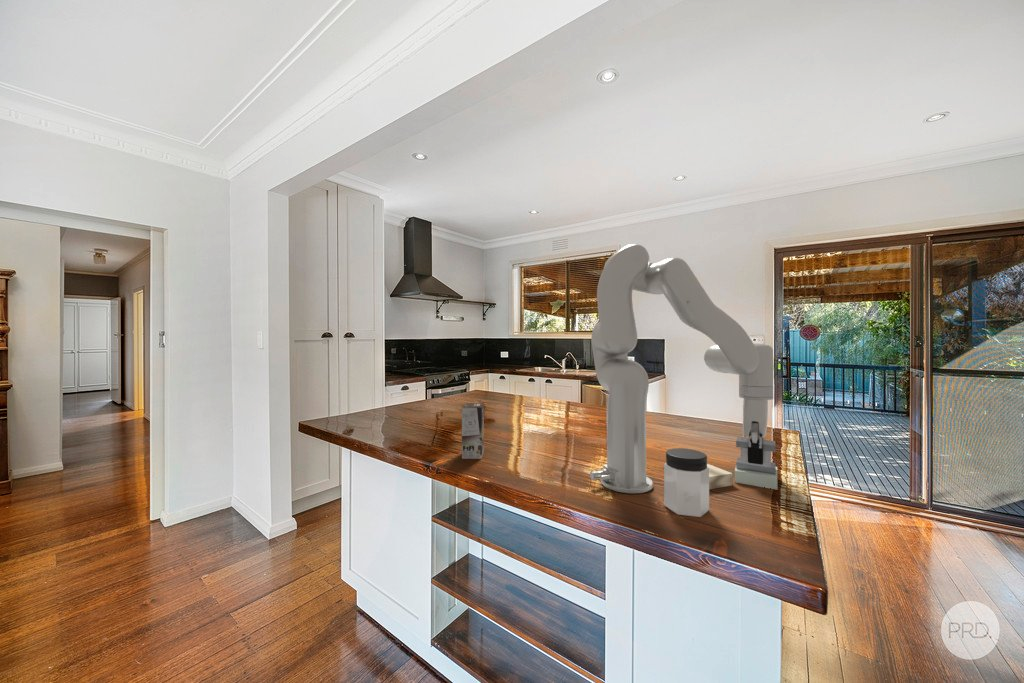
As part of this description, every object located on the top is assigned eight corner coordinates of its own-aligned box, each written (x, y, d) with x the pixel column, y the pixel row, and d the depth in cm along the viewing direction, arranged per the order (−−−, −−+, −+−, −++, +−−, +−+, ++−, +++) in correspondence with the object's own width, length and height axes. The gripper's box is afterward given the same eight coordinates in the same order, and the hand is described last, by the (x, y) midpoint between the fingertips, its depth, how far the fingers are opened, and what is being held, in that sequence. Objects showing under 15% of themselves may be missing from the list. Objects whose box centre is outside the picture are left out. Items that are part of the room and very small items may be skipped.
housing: (736, 468, 100) (736, 440, 99) (737, 463, 104) (737, 436, 104) (775, 474, 95) (775, 445, 95) (775, 469, 99) (775, 441, 99)
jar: (665, 513, 81) (665, 457, 81) (662, 498, 89) (662, 446, 89) (712, 519, 78) (712, 460, 78) (705, 503, 86) (705, 449, 86)
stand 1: (704, 490, 93) (704, 477, 93) (677, 477, 102) (677, 466, 102) (732, 485, 96) (732, 473, 96) (704, 473, 105) (704, 462, 105)
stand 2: (777, 489, 93) (777, 477, 93) (734, 482, 98) (734, 470, 98) (777, 478, 100) (777, 467, 100) (737, 472, 106) (737, 461, 106)
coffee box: (482, 459, 119) (481, 407, 119) (461, 459, 119) (460, 407, 119) (484, 450, 128) (484, 402, 128) (465, 450, 128) (464, 402, 128)
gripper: (741, 387, 108) (741, 448, 108) (736, 395, 94) (736, 465, 94) (773, 389, 104) (773, 452, 104) (773, 397, 90) (773, 470, 90)
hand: (756, 458), depth 99 cm, fingers open, 9 cm apart
